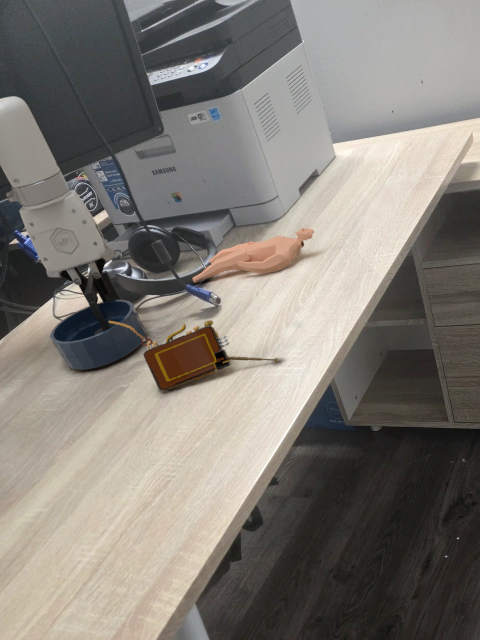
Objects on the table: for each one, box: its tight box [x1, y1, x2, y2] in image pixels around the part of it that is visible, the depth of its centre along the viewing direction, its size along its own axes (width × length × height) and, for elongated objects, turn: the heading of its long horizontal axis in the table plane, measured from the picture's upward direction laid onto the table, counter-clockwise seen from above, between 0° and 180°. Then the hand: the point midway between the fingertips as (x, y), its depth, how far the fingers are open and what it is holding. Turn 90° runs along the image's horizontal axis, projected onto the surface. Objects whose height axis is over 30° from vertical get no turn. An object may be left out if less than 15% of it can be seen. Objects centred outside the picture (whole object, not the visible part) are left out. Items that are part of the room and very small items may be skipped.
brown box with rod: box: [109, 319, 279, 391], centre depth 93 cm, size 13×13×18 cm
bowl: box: [49, 299, 147, 371], centre depth 110 cm, size 14×14×6 cm
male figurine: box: [192, 227, 315, 284], centre depth 124 cm, size 11×5×25 cm
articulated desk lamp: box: [83, 270, 122, 335], centre depth 113 cm, size 16×4×9 cm, turn 15°
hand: (100, 300), depth 113 cm, fingers closed on articulated desk lamp, 1 cm apart
